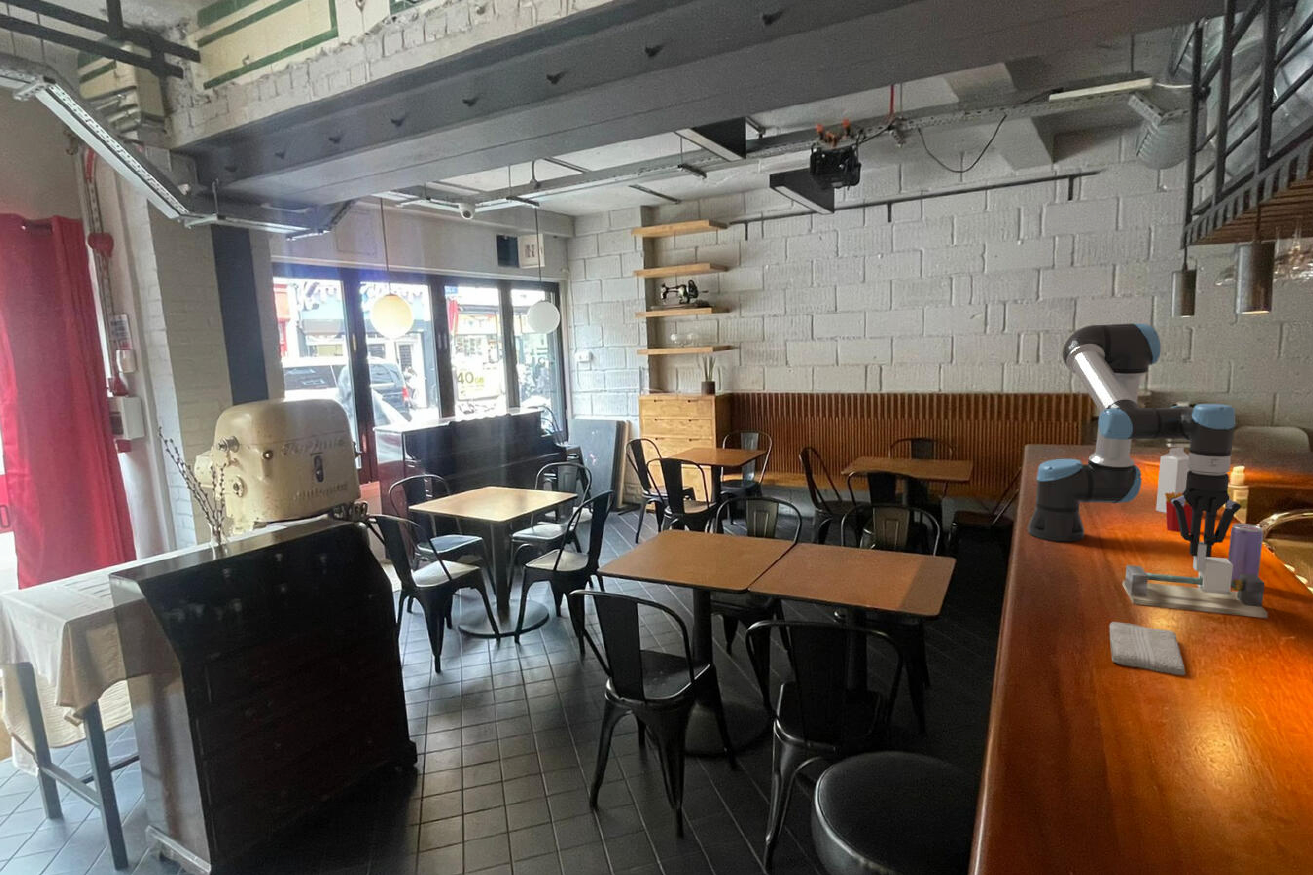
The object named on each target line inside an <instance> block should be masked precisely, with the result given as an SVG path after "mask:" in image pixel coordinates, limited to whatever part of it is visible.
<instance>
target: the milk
mask: <svg viewBox="0 0 1313 875" xmlns="http://www.w3.org/2000/svg"><path fill="white" fill-rule="evenodd" d="M1184 448H1185V447H1183V446H1182V447H1174V448H1170V449H1169V453H1167V454H1164V455H1161V456H1160V462H1159V473H1158V485H1157V486H1158V487H1157V498H1156V507H1155V511H1156V512H1160V513H1164V514H1167V513H1166V501H1167V500H1166V496H1165V493H1168V494H1169V493H1171V494H1172V492H1174V493H1175V495H1176V494H1178V492H1181V493H1183V492H1184V491H1185V489H1186V481H1187V472H1188V471H1190V469H1189V468H1188V460H1189V454H1187V453H1186V452H1184Z"/></svg>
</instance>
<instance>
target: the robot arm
mask: <svg viewBox="0 0 1313 875" xmlns="http://www.w3.org/2000/svg"><path fill="white" fill-rule="evenodd" d="M1161 348H1162V347H1161V340H1160V336H1159V334H1158V332H1157V330H1156V329H1155V327H1154V326H1152V325H1150V324H1148V323H1136V322H1134V323H1133V322H1131V323H1129V322H1128V323H1113V324H1092V325H1087V326H1084V327H1082V328H1079V329H1077V330H1076V331H1075V332H1073V333H1072V334H1070V336H1069V337H1068V338H1067V340H1066V341H1065V344H1064V345H1063V349H1062V359H1063V363H1064V364H1065V366H1066V368H1067V369H1068V370H1069V371H1070V372H1071V373H1074V374H1076V376H1077V377H1078V379H1079V380H1080V382H1081V383H1082V385H1083V386H1084V389H1086V391H1087V393H1088V394H1089V396H1090V397H1091V399H1092V400H1093V402H1094V404H1095V405H1096V406H1097V409H1098V410H1099V412H1100V414H1099V416H1098V422H1097V424H1098V427H1097V428H1098V430H1097V434H1096V444H1095V452H1094V453H1092V454H1090V455H1089V457H1088V461H1087V463H1086V464H1083V463H1082V460H1079V459H1075V458H1056V459H1048V460H1046V461H1044V462H1042V463H1040V464H1039V465H1038V469H1037V475H1036V492H1035V493H1036V497H1035V509H1034V512H1033V514H1032V516H1031V518H1030V520H1029V523H1028V524H1027V526H1028V527H1027V531H1028V534H1030V535H1031V536H1033V537H1036V538H1038V539H1042V540H1047V541H1051V542H1052V541H1053V542H1065V543H1066V542H1078V541H1081V540H1084V539H1085V527H1084V525H1083V521H1082V519H1081V515H1080V504H1081V503H1097V504H1098V503H1101V504H1102V503H1103V504H1104V503H1105V504H1106V503H1107V504H1118V503H1119V504H1120V503H1121V504H1122V503H1129V502H1131V501H1133V500H1134V499H1136V498H1137V496H1138V494H1139V492H1140V490H1141V486H1142V477H1141V476H1142V472H1141V469H1140V468H1139V467H1138V466H1137V465H1135V460H1134V458H1132V457H1131V456H1130V453H1131V448H1132V446H1131V445H1132V441H1133V440H1186V441H1189V452H1188V456H1189V460H1188V468H1189V469H1190V471H1188V472H1187V481H1186V489H1185V491H1184V492H1183V495H1182V496H1180V497H1178V498H1176V499H1175V498H1172V499H1171V500H1170V501H1171V503H1172V504H1173V505H1174V507H1175V510H1176V514H1177V519H1178V524H1179V529H1180V536H1181V538H1182V539H1183V540H1184V541H1189V552H1188V553H1189V555H1191V557H1193V561H1192V563H1193V564H1192V568H1193V569H1194V570H1195V571H1196V572H1199V571H1200V572H1204V568H1205V558H1206V557H1212V549H1213V546H1214V545H1215V544H1217V543H1219V544H1221V543H1223V542H1224V539H1225V538H1226V535H1227V533H1228V530H1229V528H1230V525H1231V524H1232V521H1233V519H1234V517H1235V515H1236V513H1237V512H1238V511H1239V510H1240V509H1241V508H1242V505H1241V504H1240V503H1239V502H1237V501H1236V500H1235V501H1234V500H1232V499H1231V498H1230V495H1229V493H1228V491H1229V490H1228V489H1229V482H1230V475H1229V474H1228V473H1229V472H1230V469H1231V461H1232V460H1231V459H1232V452H1233V451H1232V450H1233V444H1234V435H1235V427H1236V424H1237V423H1236V409H1235V407H1234V406H1232V405H1230V404H1221V403H1200V404H1196V405H1194V407H1190V406H1187V405H1183V406H1182V405H1174V406H1171V407H1161V408H1160V407H1159V408H1157V407H1155V408H1154V407H1151V408H1149V407H1147V408H1145V407H1143V408H1141V407H1140V406H1139V405H1138V404H1137V403H1138V396H1139V390H1140V382H1141V379H1142V377H1143V376H1145V375H1146V374H1148V371H1149V366H1152V365H1154V364H1156V363H1158V360H1159V359H1160V357H1161V353H1162V352H1161V350H1162V349H1161ZM1185 500H1186V501H1187V502H1188V504H1189V505H1190V506H1191V507H1192V521H1191V532H1190V533H1189V530H1188V525H1187V521H1186V516H1185V511H1184V508H1183V506H1184V505H1185V503H1184V502H1185ZM1224 505H1225V508H1224V511H1223V513H1222V515H1221V517H1220V519H1219V522H1218V524H1217V527H1216V517H1217V513H1218V511H1219V510H1220V509H1221V508H1222V507H1223V506H1224ZM1204 512H1205V516H1204V518H1205V519H1204V529H1203V541H1201V540H1200V539H1201V536H1200V535H1201V527H1202V518H1203V515H1204ZM1215 527H1216V530H1215Z"/></svg>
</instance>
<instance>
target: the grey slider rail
mask: <svg viewBox="0 0 1313 875" xmlns="http://www.w3.org/2000/svg"><path fill="white" fill-rule="evenodd" d="M1125 569H1126V570H1125V579H1124V580H1122V586H1123V588H1124V590H1125V592H1126V594H1127V595H1128V597H1129V599H1130V600H1131V602H1132V604H1135V605H1142V606H1153V607H1162V608H1168V609H1169V608H1171V609H1179V610H1187V611H1189V610H1190V611H1196V612H1197V611H1199V612H1205V613H1208V612H1209V613H1214V614H1215V613H1217V614H1224V615H1225V614H1226V615H1235V616H1242V617H1243V616H1245V617H1252V618H1253V617H1254V618H1262V619H1268V618H1269V617H1268V616H1269V612H1268V611H1267V610H1266V609H1264V607H1263V599H1264V592H1265V585H1266V584H1265V583H1266V582H1264V581H1263V580H1262V579H1261V578H1260V577H1259V575H1258V576H1257V575H1251V574H1240V576H1239V579H1233V581H1231V588H1230V589H1232V590H1233V591H1231V590H1230V595H1225V594H1215V593H1205V592H1202V591H1201V589H1200V588H1199V587H1192V586H1191V587H1190V586H1180V585H1172V584H1171V585H1169V584H1161V583H1152V582H1148V581H1157V582H1167V583H1176V584H1177V583H1178V584H1188V585H1196V586H1198V585H1203V578H1198V577H1194V576H1193V577H1192V576H1184V575H1183V576H1182V575H1173V574H1172V575H1170V574H1162V573H1150V572H1146V571H1145V570H1144V568H1143V566H1142V565H1141V566H1140V565H1132V564H1126V568H1125Z"/></svg>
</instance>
